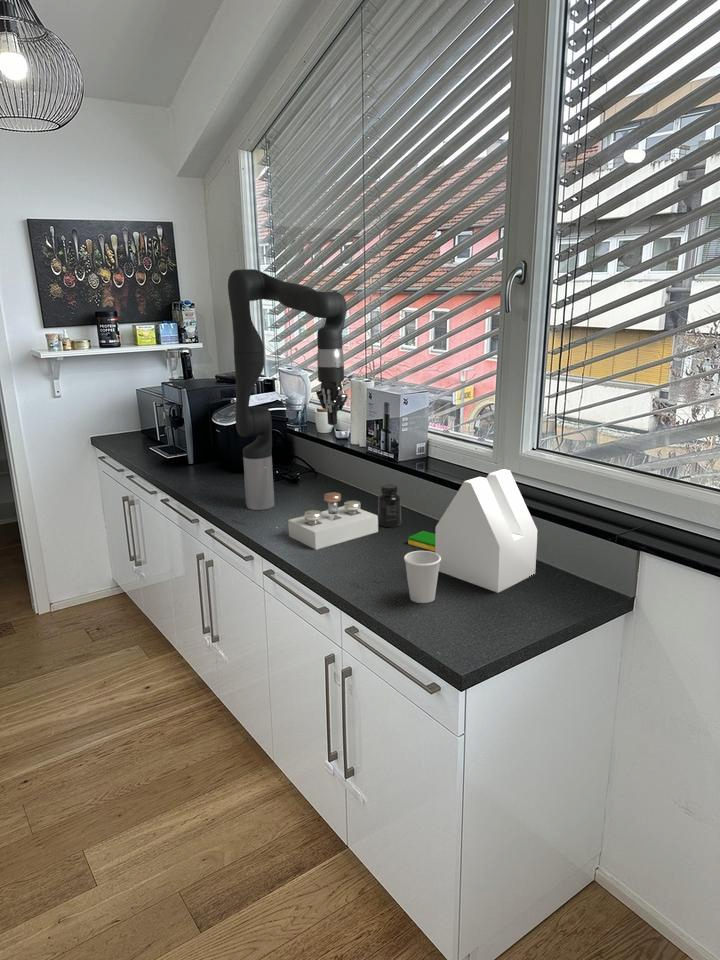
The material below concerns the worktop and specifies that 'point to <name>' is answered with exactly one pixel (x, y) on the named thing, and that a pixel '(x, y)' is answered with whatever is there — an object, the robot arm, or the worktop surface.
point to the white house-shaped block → (487, 534)
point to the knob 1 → (312, 517)
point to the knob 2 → (352, 507)
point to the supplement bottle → (389, 506)
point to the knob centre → (332, 502)
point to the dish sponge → (423, 540)
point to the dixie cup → (422, 575)
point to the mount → (333, 528)
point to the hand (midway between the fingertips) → (332, 424)
